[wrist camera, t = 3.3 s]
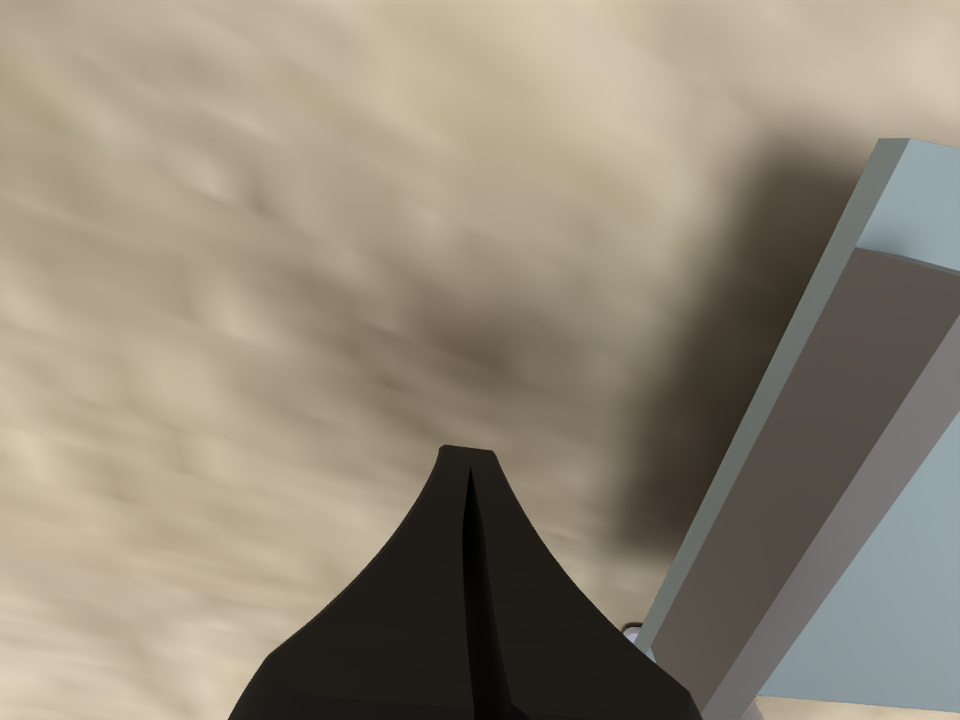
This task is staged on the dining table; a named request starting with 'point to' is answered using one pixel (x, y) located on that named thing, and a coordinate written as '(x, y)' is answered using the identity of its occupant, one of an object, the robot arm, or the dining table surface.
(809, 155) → the dining table surface
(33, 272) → the dining table surface
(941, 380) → the lid
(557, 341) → the dining table surface
